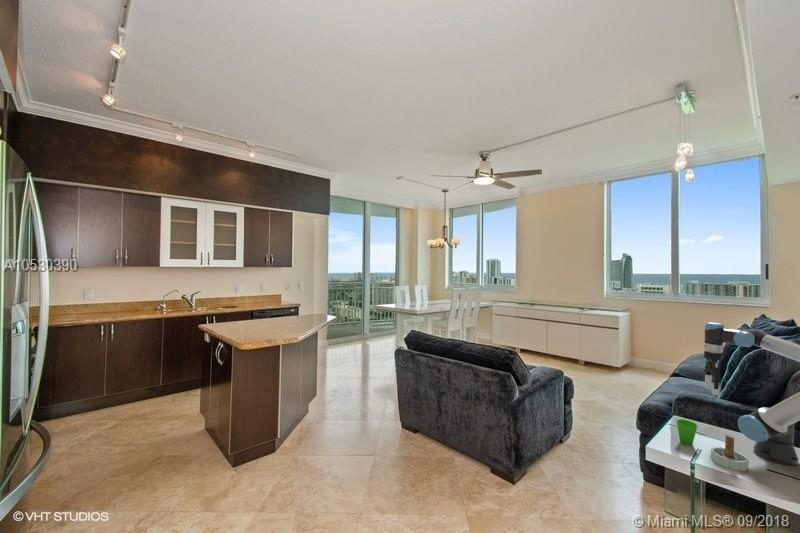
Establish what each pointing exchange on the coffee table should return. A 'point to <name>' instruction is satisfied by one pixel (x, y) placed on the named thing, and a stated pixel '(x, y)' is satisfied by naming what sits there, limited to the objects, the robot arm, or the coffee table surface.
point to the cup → (686, 431)
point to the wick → (729, 446)
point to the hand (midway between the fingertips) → (711, 390)
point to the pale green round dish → (729, 459)
